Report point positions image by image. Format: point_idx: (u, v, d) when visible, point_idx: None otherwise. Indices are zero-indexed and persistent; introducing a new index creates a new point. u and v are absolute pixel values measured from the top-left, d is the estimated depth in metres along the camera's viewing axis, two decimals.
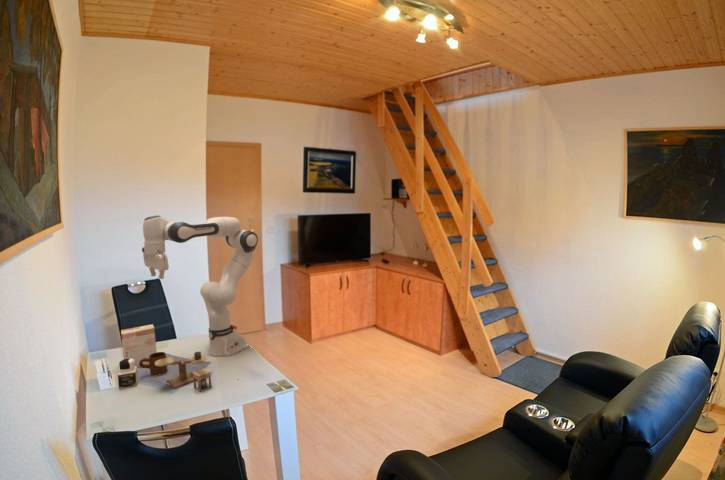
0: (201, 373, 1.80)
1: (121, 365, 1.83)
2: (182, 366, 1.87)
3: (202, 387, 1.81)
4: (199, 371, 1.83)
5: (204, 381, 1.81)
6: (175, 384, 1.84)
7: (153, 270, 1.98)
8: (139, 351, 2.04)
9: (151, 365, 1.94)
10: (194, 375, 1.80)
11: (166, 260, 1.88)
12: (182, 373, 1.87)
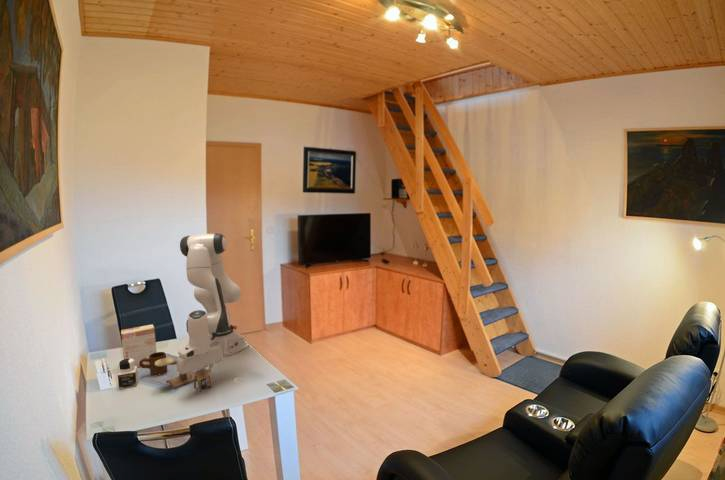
0: (201, 373, 1.80)
1: (121, 365, 1.83)
2: None
3: (202, 387, 1.81)
4: (199, 371, 1.83)
5: (204, 381, 1.81)
6: (175, 384, 1.84)
7: None
8: (140, 351, 2.04)
9: (151, 365, 1.94)
10: None
11: None
12: None
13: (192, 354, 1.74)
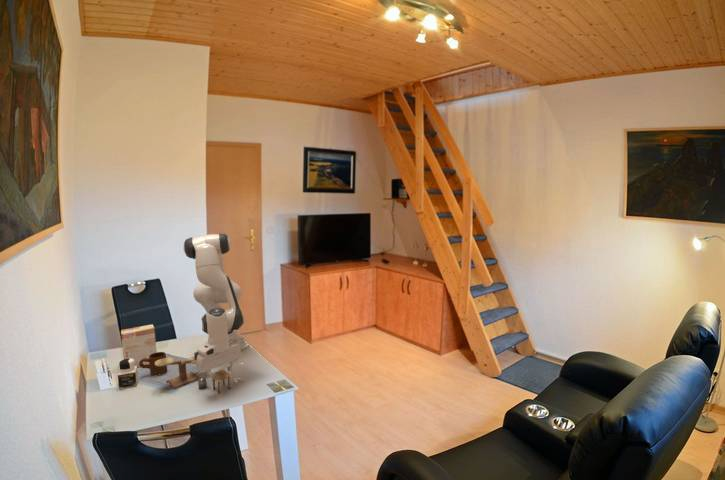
0: (220, 374, 1.79)
1: (121, 365, 1.83)
2: (182, 366, 1.87)
3: (202, 387, 1.81)
4: (218, 372, 1.81)
5: (204, 381, 1.81)
6: (175, 384, 1.84)
7: None
8: (140, 351, 2.04)
9: (151, 365, 1.94)
10: None
11: None
12: (182, 373, 1.87)
13: (212, 352, 1.73)
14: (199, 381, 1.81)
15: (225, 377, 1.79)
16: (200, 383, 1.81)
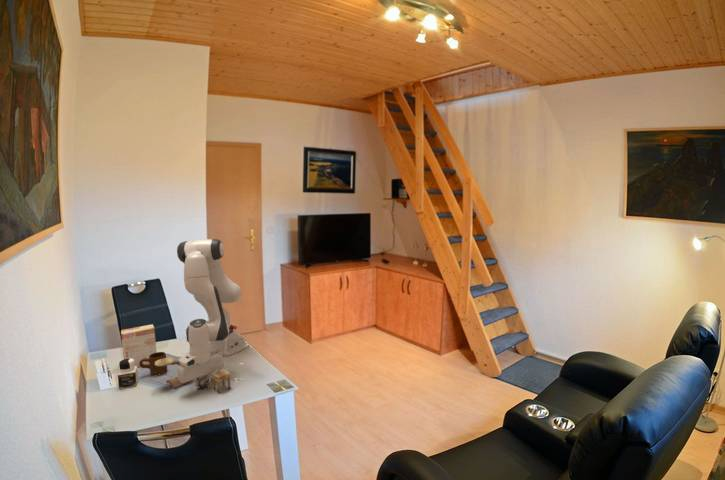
0: (220, 374, 1.79)
1: (121, 365, 1.83)
2: None
3: (202, 387, 1.81)
4: (218, 372, 1.81)
5: (204, 381, 1.81)
6: (175, 384, 1.84)
7: None
8: (140, 351, 2.04)
9: (151, 365, 1.94)
10: (213, 376, 1.79)
11: None
12: None
13: (193, 363, 1.75)
14: (199, 381, 1.81)
15: (225, 377, 1.79)
16: (200, 383, 1.81)
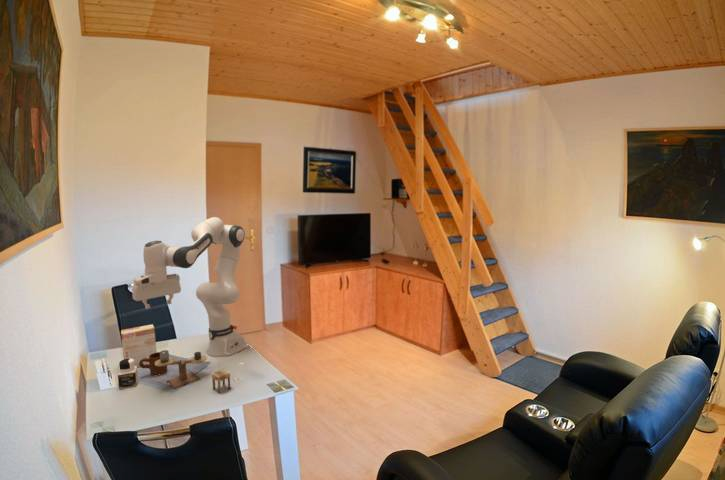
0: (220, 374, 1.79)
1: (121, 365, 1.83)
2: (182, 366, 1.87)
3: (164, 360, 1.80)
4: (218, 372, 1.81)
5: (166, 354, 1.80)
6: (175, 384, 1.84)
7: (145, 302, 1.80)
8: (140, 351, 2.04)
9: (151, 365, 1.94)
10: (213, 376, 1.79)
11: None
12: (182, 373, 1.87)
13: (147, 281, 1.76)
14: (161, 354, 1.80)
15: (225, 377, 1.79)
16: (162, 356, 1.80)
